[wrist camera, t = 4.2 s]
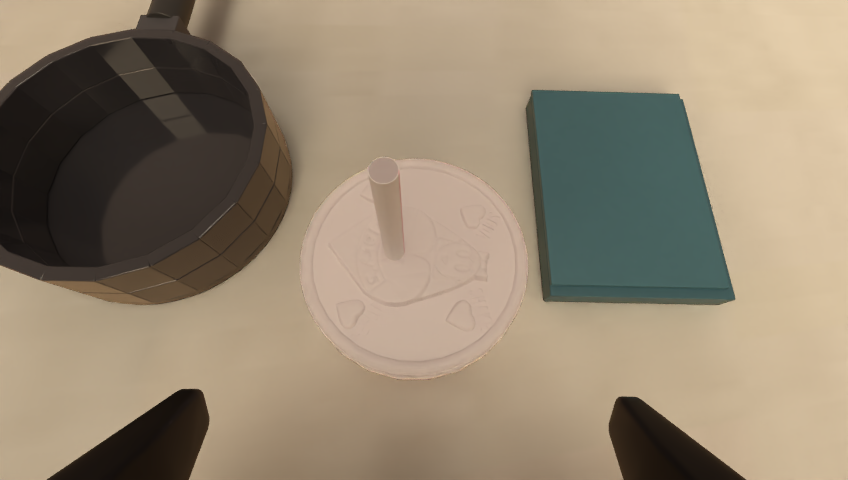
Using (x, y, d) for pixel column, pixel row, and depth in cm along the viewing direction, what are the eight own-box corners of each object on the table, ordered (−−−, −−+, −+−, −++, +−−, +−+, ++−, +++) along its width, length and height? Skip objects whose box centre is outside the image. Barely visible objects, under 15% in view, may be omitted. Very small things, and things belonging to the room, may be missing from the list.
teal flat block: (719, 304, 21) (741, 298, 19) (543, 301, 21) (552, 294, 19) (670, 110, 25) (685, 93, 24) (525, 106, 25) (532, 89, 24)
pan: (273, 307, 20) (237, 284, 16) (4, 302, 20) (-105, 277, 16) (305, 94, 25) (283, 32, 21) (88, 88, 25) (21, 25, 21)
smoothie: (363, 249, 21) (283, 18, 8) (484, 266, 21) (597, 56, 8) (337, 376, 19) (169, 332, 6) (472, 396, 19) (605, 398, 6)
